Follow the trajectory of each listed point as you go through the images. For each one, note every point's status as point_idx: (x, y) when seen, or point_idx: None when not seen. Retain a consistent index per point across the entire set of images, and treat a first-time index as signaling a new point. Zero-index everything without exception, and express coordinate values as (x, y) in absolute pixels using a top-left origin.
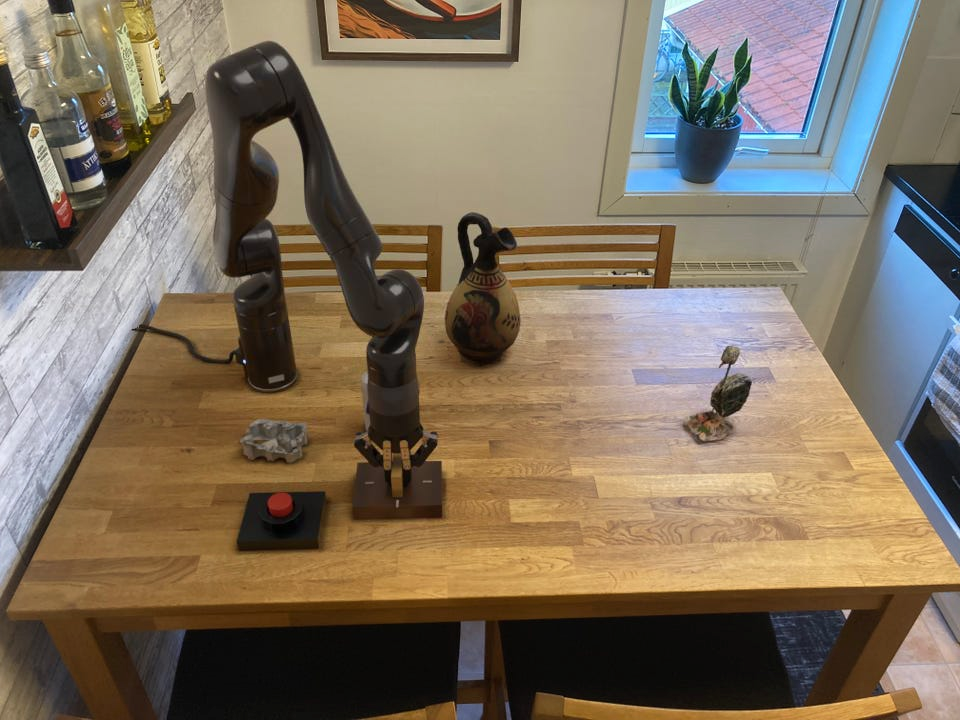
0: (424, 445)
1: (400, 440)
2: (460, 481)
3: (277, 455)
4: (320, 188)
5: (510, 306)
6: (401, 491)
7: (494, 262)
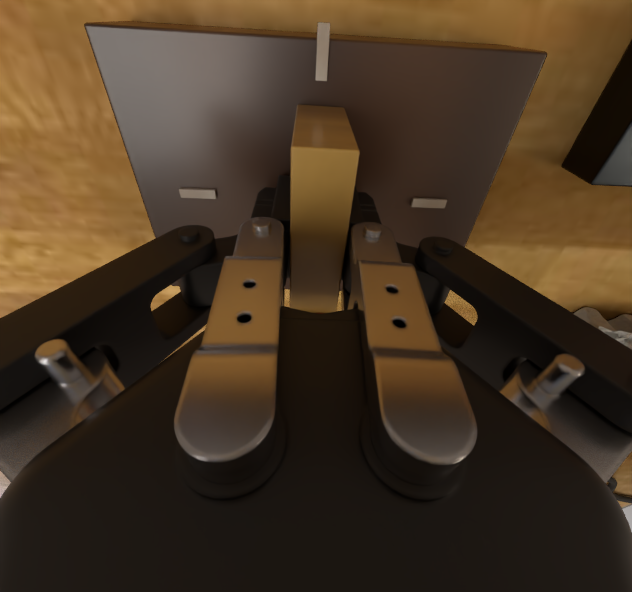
0: (63, 360)
1: (262, 449)
2: (120, 219)
3: (614, 326)
4: None
5: None
6: (299, 112)
7: None
